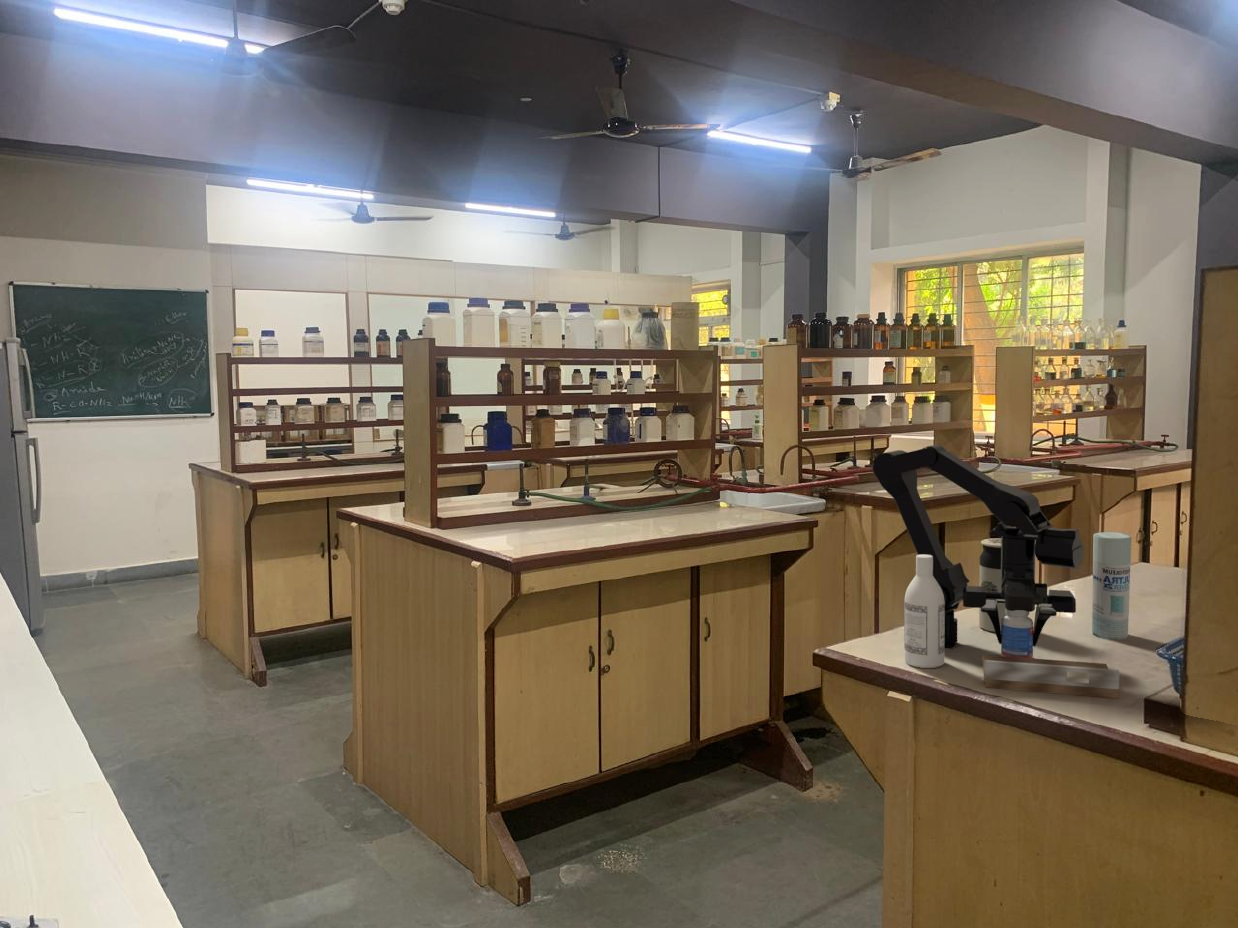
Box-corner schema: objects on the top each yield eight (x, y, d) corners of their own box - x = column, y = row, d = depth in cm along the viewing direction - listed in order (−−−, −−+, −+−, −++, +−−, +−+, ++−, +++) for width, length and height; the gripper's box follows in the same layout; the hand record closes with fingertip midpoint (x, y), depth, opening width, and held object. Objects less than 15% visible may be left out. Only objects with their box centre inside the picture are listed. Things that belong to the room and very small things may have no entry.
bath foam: (934, 655, 170) (934, 550, 168) (951, 667, 163) (951, 558, 161) (898, 658, 169) (898, 553, 167) (914, 670, 162) (914, 560, 160)
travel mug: (1003, 621, 190) (1004, 536, 188) (1030, 631, 182) (1031, 543, 181) (970, 625, 188) (971, 539, 186) (996, 635, 180) (997, 546, 179)
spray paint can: (1117, 629, 182) (1120, 531, 179) (1135, 639, 175) (1138, 537, 173) (1084, 630, 182) (1087, 532, 180) (1101, 640, 175) (1104, 538, 173)
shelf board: (985, 687, 152) (985, 661, 152) (982, 662, 165) (982, 638, 164) (1119, 698, 145) (1119, 671, 145) (1105, 671, 158) (1106, 646, 157)
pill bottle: (1036, 663, 164) (1036, 610, 163) (1004, 662, 165) (1005, 609, 164) (1028, 653, 169) (1029, 602, 168) (998, 652, 170) (998, 602, 169)
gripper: (963, 568, 161) (963, 654, 162) (1080, 573, 154) (1079, 662, 156) (963, 555, 171) (962, 636, 173) (1072, 559, 165) (1071, 643, 166)
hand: (1016, 644), depth 167 cm, fingers closed on pill bottle, 5 cm apart
